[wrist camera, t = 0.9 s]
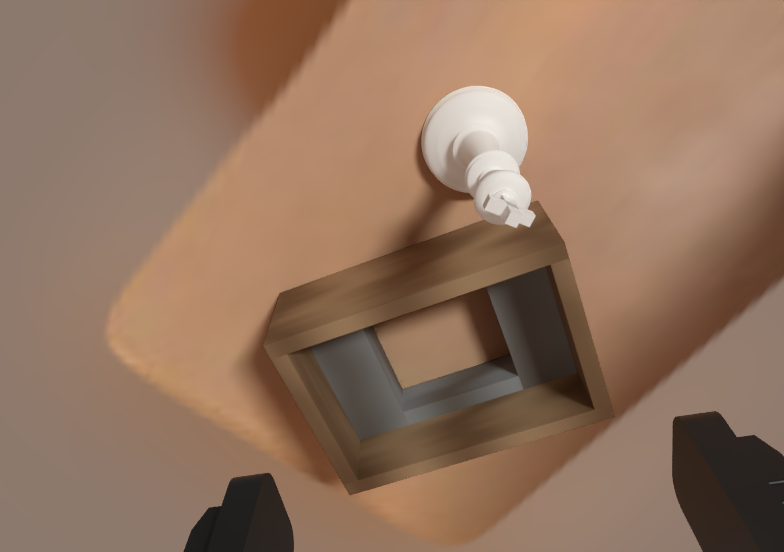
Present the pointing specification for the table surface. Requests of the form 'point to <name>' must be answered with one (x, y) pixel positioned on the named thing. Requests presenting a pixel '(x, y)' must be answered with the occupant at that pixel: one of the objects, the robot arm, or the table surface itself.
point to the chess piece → (481, 152)
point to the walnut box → (451, 392)
